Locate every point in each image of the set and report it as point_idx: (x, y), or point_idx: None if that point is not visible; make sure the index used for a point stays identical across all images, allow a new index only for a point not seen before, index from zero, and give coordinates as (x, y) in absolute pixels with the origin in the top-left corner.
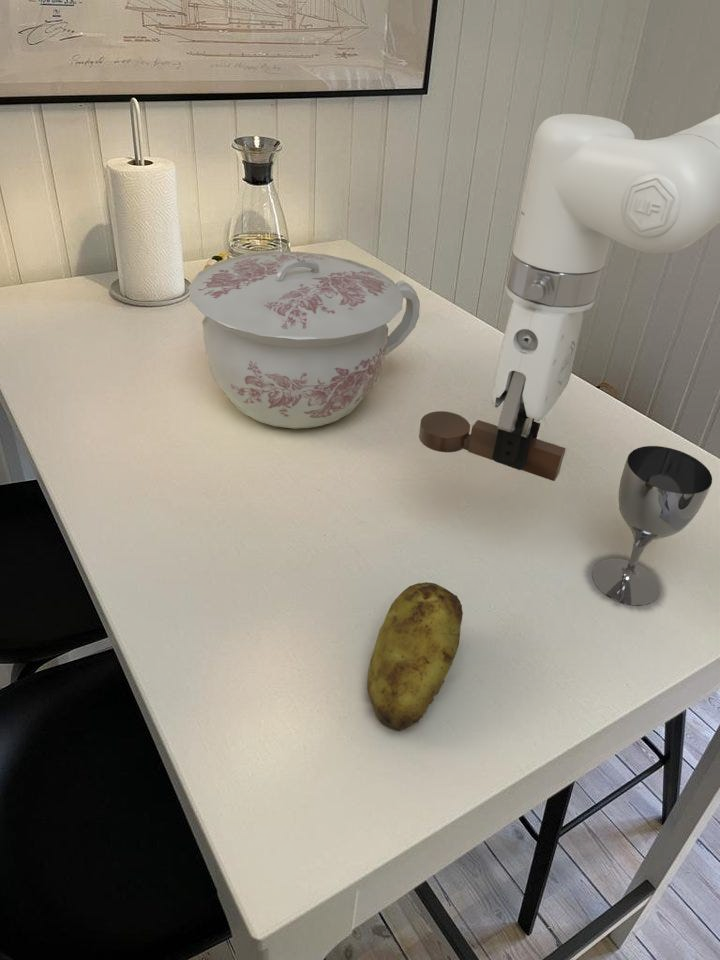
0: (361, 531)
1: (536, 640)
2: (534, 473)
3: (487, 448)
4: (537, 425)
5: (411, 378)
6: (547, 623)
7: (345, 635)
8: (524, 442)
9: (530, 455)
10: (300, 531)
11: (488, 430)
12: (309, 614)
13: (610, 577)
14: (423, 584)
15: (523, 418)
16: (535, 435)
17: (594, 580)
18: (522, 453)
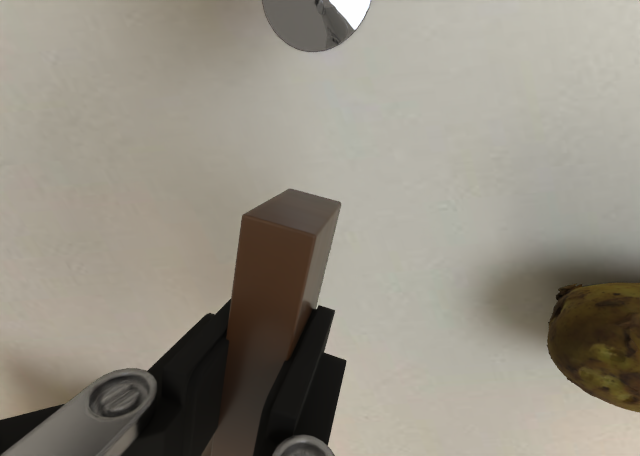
0: (344, 380)
1: (505, 131)
2: (325, 266)
3: None
4: (187, 380)
5: (25, 344)
6: (460, 116)
7: (551, 384)
8: (304, 400)
9: (304, 322)
10: (369, 441)
11: None
12: (520, 424)
13: (323, 15)
14: (600, 381)
15: (173, 443)
16: (216, 341)
17: (333, 45)
18: (318, 359)
